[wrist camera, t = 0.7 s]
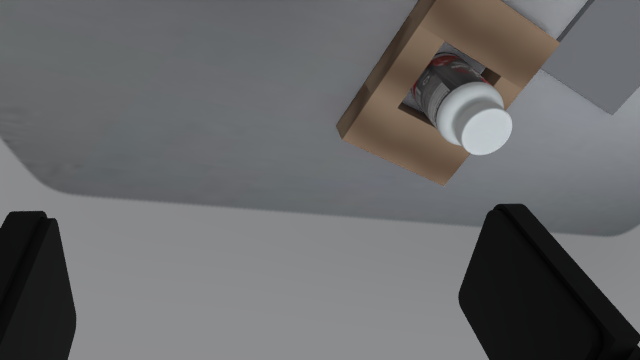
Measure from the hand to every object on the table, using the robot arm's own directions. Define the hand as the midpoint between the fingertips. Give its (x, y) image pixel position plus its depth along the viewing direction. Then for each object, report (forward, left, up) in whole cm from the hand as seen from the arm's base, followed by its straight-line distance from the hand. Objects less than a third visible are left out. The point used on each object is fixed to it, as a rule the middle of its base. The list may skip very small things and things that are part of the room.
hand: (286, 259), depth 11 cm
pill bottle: (0, +20, -32) cm, 38 cm away
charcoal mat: (-11, +33, -31) cm, 47 cm away
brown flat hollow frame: (0, +20, -31) cm, 37 cm away
